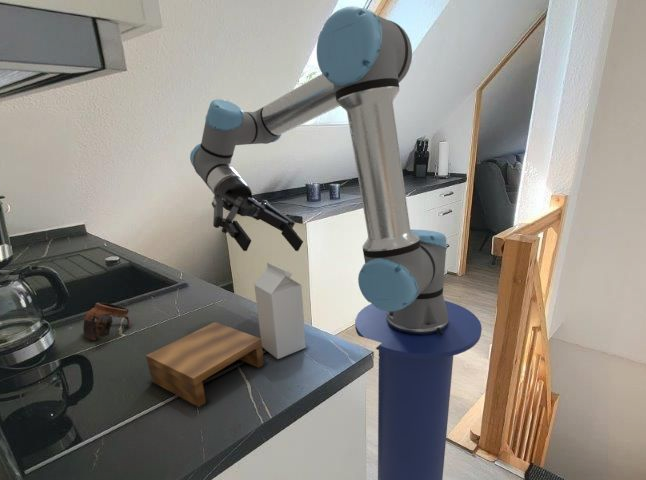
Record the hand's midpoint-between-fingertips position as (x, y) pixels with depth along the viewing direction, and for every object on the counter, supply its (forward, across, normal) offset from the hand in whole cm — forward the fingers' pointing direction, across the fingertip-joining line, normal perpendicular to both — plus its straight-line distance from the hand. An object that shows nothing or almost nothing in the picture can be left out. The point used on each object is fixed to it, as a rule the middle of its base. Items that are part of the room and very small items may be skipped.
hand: (275, 246), depth 85 cm
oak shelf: (+12, +13, -22) cm, 29 cm away
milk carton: (+14, -2, -18) cm, 23 cm away
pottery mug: (-17, +21, -40) cm, 48 cm away
